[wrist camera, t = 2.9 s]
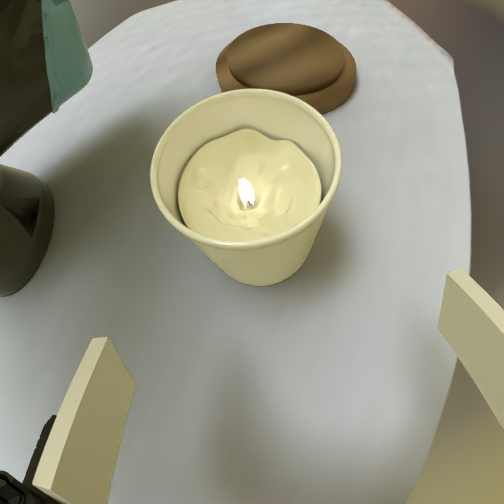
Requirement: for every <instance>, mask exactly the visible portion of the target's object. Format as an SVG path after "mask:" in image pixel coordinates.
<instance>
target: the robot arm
mask: <svg viewBox="0 0 504 504" xmlns="http://www.w3.org/2000/svg"><path fill="white" fill-rule="evenodd" d="M92 71H93V66H92V62H91V59H90V56H89V53H88V50H87V47H86V45H85V42H84V39H83V37H82V34H81V31H80V28H79V25H78V23H77V20H76V17H75V14H74V12H73V9H72V6H71V3H70V1H69V0H0V156H1V155H2V154H4V153H5V152H6V151H7V150H8V149H9V148H10V147H11V146H12V145H13V144H14V143H15V142H17V141H18V140H19V139H20V138H21V137H22V136H23V135H24V134H26V133H27V132H28V131H29V130H30V129H32V128H33V127H34V126H35V125H36V124H38V123H39V122H40V121H41V120H42V119H44V118H45V117H46V116H48V115H49V114H50V113H51V112H53V113H56V112H57V111H58V109H59V107H60V106H61V105H62V104H63V103H65V102H66V101H67V100H68V99H70V98H71V97H72V96H74V95H75V94H76V93H77V92H79V91H80V90H82V89H83V88H84V87H85V86H86V85H87V83H88V82H89V80H90V78H91V75H92ZM53 218H54V205H53V199H52V195H51V192H50V190H49V189H48V187H47V186H46V185H45V184H44V183H43V182H42V181H41V180H39V179H38V178H37V177H36V176H34V175H33V174H31V173H29V172H26V171H22V170H19V169H15V168H12V167H8V166H5V165H1V164H0V296H7V295H10V294H13V293H14V292H16V291H18V290H19V289H20V288H21V287H23V286H24V285H25V284H26V283H27V281H28V280H29V279H30V278H31V276H32V275H33V274H34V272H35V271H36V269H37V267H38V266H39V264H40V262H41V260H42V258H43V255H44V253H45V251H46V248H47V245H48V242H49V239H50V235H51V231H52V226H53ZM437 328H438V329H439V331H440V332H441V333H442V335H443V336H444V338H445V339H446V340H447V342H448V343H449V345H450V346H451V348H452V349H453V350H454V352H455V353H456V355H457V356H458V358H459V359H460V361H461V362H462V364H463V365H464V367H465V368H466V370H467V371H468V373H469V374H470V376H471V377H472V379H473V380H474V382H475V383H476V385H477V386H478V388H479V390H480V391H481V393H482V395H483V396H484V398H485V399H486V401H487V403H488V404H489V406H490V408H491V409H492V411H493V412H494V414H495V416H496V418H497V420H498V421H499V423H500V425H501V426H502V428H503V430H504V310H503V309H502V308H501V307H500V306H499V305H498V304H497V303H496V302H495V301H494V300H493V299H492V298H491V297H490V296H489V295H488V294H487V293H486V292H485V291H484V290H483V289H482V288H481V287H480V286H479V285H478V284H477V283H476V282H475V281H474V280H473V279H472V278H471V277H470V276H469V275H468V274H467V273H466V272H464V271H463V270H462V269H459V270H455V271H452V272H448V273H447V275H446V282H445V288H444V294H443V300H442V306H441V311H440V316H439V321H438V326H437ZM135 386H136V383H135V381H134V380H133V378H132V376H131V375H130V373H129V372H128V370H127V368H126V367H125V365H124V363H123V362H122V360H121V358H120V357H119V355H118V353H117V352H116V350H115V348H114V346H113V345H112V343H111V341H110V339H109V337H100V338H92V340H91V342H90V344H89V346H88V348H87V350H86V352H85V354H84V357H83V359H82V361H81V363H80V365H79V367H78V369H77V371H76V374H75V376H74V378H73V380H72V382H71V384H70V387H69V389H68V391H67V394H66V396H65V398H64V400H63V403H62V405H61V407H60V410H59V412H58V415H52V417H51V418H50V419H49V420H48V421H47V423H46V424H45V425H44V427H43V430H42V432H41V435H40V439H39V440H38V442H37V445H36V447H37V448H36V449H35V450H34V453H33V456H32V458H31V461H30V464H29V466H28V469H27V472H26V475H25V478H24V480H23V483H20V482H19V481H18V480H16V479H15V478H14V477H12V476H11V475H10V474H9V473H7V472H5V471H0V504H107V502H108V497H109V492H110V487H111V482H112V478H113V473H114V469H115V464H116V460H117V455H118V451H119V447H120V443H121V439H122V435H123V431H124V427H125V423H126V419H127V415H128V411H129V407H130V404H131V400H132V396H133V393H134V389H135Z"/></svg>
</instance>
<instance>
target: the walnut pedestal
mask: <svg viewBox="0 0 504 504" xmlns="http://www.w3.org/2000/svg"><path fill="white" fill-rule="evenodd" d="M216 74H217V78H218V81H219V85H220V88H221V91H222V92H227V91H232V90H239V89H267V90H273V91H278V92H282V93H285V94H288V95H291V96H293V97H296V98H298V99H300V100H302V101H304V102H305V103H307V104H309V105H310V106H311V107H313V108H314V109H315V110H317V111H318V112H319V113H320V114H324V113H327V112H329V111H331V110H333V109H335V108H337V107H338V106H340V105H341V104H342V103H343V102H345V101H346V99H347V98H348V97H349V96H350V94H351V92H352V89H353V86H354V81H355V76H356V64H355V61H354V58H353V56H352V55H351V53H350V52H349V51H348V50H347V48H346V47H344V46H343V45H342V44H341V43H340V42H338V41H337V40H336V39H334V38H333V37H332V36H331V35H329V34H327V33H326V32H324V31H322V30H319V29H317V28H314V27H311V26H307V25H301V24H294V23H276V24H268V25H263V26H259V27H256V28H253V29H251V30H248V31H246V32H244V33H243V34H241V35H239V36H238V37H237V38H236V39H235V40H233V41H232V42H231V43H230V44H228V45H227V46H226V47H225V48H224V49H223V51H222V52H221V53H220V55H219V57H218V59H217V62H216Z"/></svg>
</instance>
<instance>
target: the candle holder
mask: <svg viewBox="0 0 504 504" xmlns="http://www.w3.org/2000/svg"><path fill="white" fill-rule="evenodd" d="M341 170H342V157H341V150H340V146H339V143H338V140H337V137H336V135H335V133H334V131H333V129H332V128H331V126H330V125H329V123H328V122H327V121H326V119H325V118H324V117H323V116H322V115H321V114H320V113H319V112H318V111H317V110H315V109H314V108H313V107H311V106H310V105H309V104H307V103H305V102H304V101H302V100H300V99H298V98H296V97H293V96H291V95H288V94H285V93H282V92H278V91H273V90H267V89H239V90H232V91H227V92H223V93H220V94H217V95H214V96H211V97H209V98H206V99H204V100H202V101H200V102H198V103H196V104H195V105H193V106H192V107H190V108H189V109H187V110H186V111H184V112H183V113H182V114H181V115H180V116H178V117H177V118H176V119H175V120H174V121H173V122H172V123H171V124H170V126H169V127H168V128H167V129H166V131H165V132H164V134H163V135H162V137H161V138H160V140H159V142H158V144H157V146H156V148H155V151H154V154H153V157H152V162H151V168H150V183H151V189H152V193H153V196H154V199H155V201H156V204H157V206H158V208H159V209H160V211H161V212H162V214H163V215H164V217H165V218H166V219H167V220H168V221H169V222H170V223H171V224H172V225H173V226H174V227H175V228H176V229H177V230H178V231H180V232H181V233H183V234H184V235H185V236H186V237H187V238H188V239H189V240H190V241H192V242H193V243H194V244H195V245H196V246H197V247H198V248H199V249H200V250H201V251H202V252H203V253H204V254H205V255H206V256H207V257H208V258H209V259H210V260H211V261H213V262H214V263H215V264H216V265H217V266H218V267H219V268H220V269H221V270H222V271H223V272H225V273H226V274H227V275H229V276H230V277H231V278H233V279H235V280H237V281H239V282H241V283H244V284H248V285H253V286H266V285H272V284H276V283H278V282H281V281H283V280H285V279H287V278H288V277H290V276H291V275H293V274H294V273H295V272H296V271H297V270H298V269H299V268H300V267H301V266H302V264H303V263H304V261H305V260H306V258H307V256H308V254H309V252H310V250H311V247H312V245H313V243H314V240H315V238H316V235H317V233H318V231H319V228H320V226H321V223H322V221H323V218H324V216H325V213H326V211H327V208H328V206H329V204H330V202H331V200H332V198H333V197H334V195H335V192H336V190H337V187H338V184H339V181H340V177H341Z"/></svg>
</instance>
